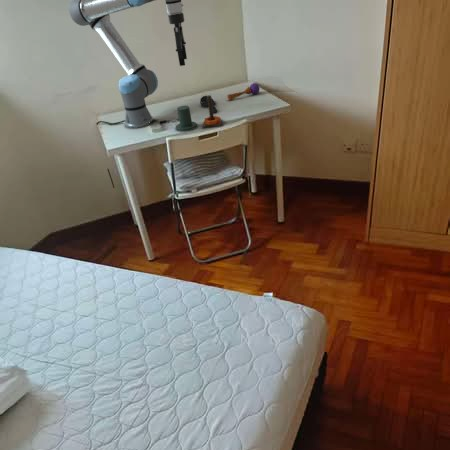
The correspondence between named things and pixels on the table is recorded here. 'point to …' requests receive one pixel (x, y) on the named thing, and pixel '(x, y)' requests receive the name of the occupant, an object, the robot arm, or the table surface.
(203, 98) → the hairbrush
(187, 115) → the stand
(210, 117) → the post
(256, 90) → the kendama
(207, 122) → the ring
